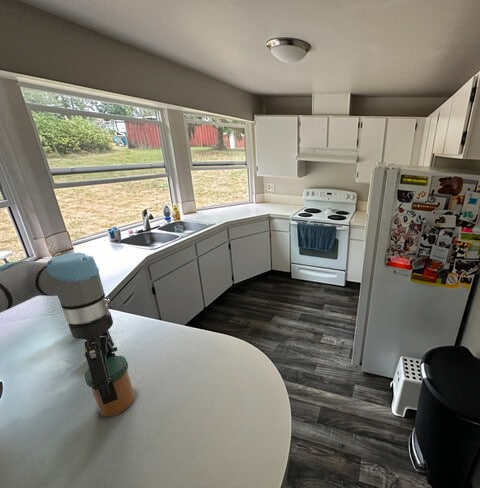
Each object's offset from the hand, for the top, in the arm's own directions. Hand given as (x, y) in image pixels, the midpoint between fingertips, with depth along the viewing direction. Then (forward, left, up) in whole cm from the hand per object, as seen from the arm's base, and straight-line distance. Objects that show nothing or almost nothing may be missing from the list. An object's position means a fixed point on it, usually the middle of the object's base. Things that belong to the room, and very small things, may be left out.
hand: (112, 386), depth 67 cm
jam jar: (0, 0, -6) cm, 6 cm away
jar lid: (0, 0, +6) cm, 6 cm away
